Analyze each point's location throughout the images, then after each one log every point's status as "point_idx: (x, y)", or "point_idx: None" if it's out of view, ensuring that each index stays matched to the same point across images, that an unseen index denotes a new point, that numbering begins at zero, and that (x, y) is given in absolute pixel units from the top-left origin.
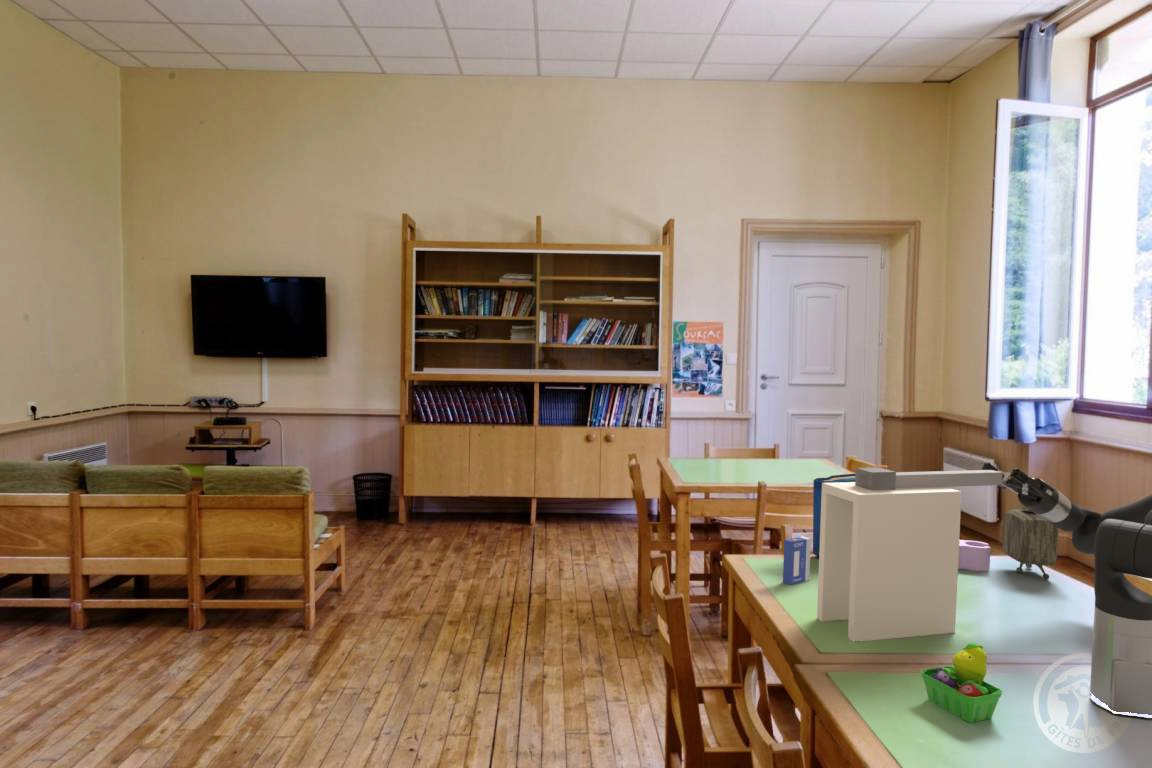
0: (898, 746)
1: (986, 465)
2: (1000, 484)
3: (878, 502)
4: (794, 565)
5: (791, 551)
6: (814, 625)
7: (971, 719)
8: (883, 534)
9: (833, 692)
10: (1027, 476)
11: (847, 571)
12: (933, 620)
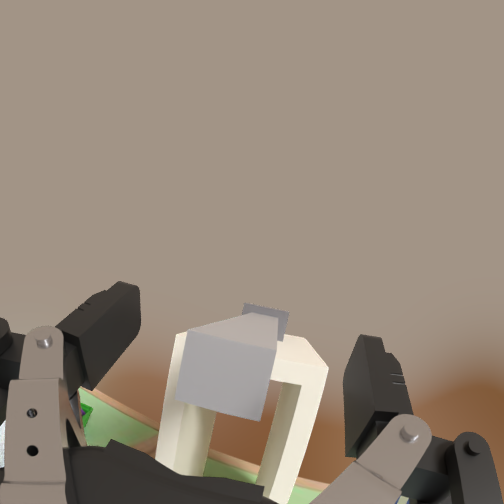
0: (80, 391)
1: (355, 352)
2: (177, 393)
3: None
4: (399, 501)
5: None
6: (246, 480)
7: None
8: None
9: (136, 417)
10: (59, 325)
11: (265, 458)
12: None
